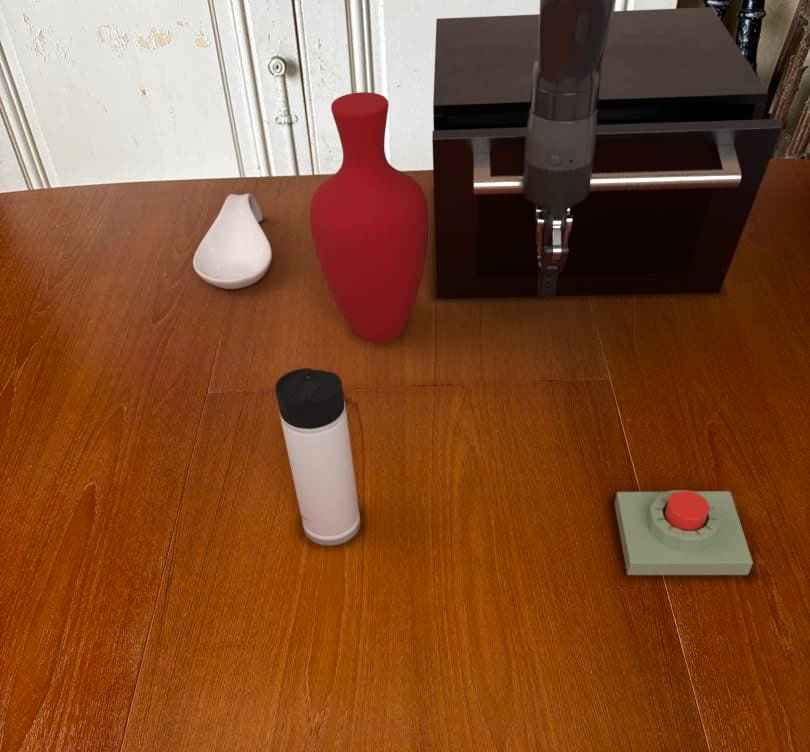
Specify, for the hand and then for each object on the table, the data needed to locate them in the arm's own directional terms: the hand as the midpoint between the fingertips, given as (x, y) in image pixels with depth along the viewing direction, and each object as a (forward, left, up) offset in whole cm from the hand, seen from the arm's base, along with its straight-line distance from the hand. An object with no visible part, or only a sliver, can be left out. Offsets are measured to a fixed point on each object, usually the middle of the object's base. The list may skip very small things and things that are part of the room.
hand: (546, 292), depth 102 cm
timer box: (-12, +33, -9) cm, 36 cm away
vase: (+22, -6, -9) cm, 25 cm away
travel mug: (+25, +31, -9) cm, 41 cm away
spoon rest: (+45, -26, -9) cm, 53 cm away
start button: (-12, +33, -5) cm, 36 cm away
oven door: (-6, -11, -10) cm, 16 cm away
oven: (-6, -31, -9) cm, 33 cm away
